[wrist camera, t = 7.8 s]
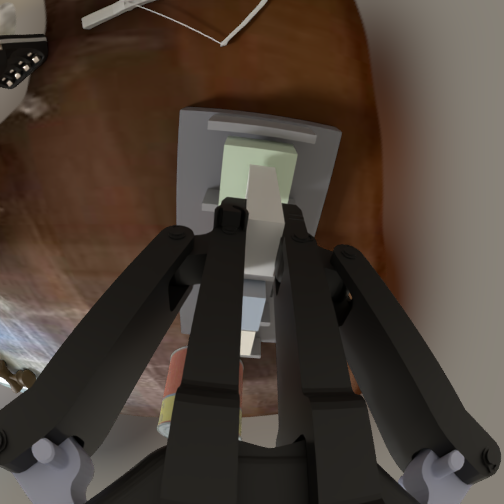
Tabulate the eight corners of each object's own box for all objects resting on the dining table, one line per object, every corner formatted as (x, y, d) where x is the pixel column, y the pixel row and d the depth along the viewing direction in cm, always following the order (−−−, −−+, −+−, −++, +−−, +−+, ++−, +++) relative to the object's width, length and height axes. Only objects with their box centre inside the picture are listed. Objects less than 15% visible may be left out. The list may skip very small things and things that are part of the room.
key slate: (213, 306, 28) (210, 326, 26) (215, 272, 25) (212, 292, 23) (257, 311, 28) (258, 331, 26) (265, 278, 25) (265, 298, 23)
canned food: (165, 371, 43) (153, 436, 33) (177, 336, 37) (161, 416, 27) (230, 387, 45) (226, 451, 36) (255, 356, 39) (254, 433, 29)
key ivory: (212, 334, 32) (210, 351, 30) (213, 309, 29) (211, 327, 27) (250, 338, 32) (250, 355, 30) (255, 313, 30) (255, 331, 28)
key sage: (221, 193, 21) (218, 209, 19) (227, 135, 18) (224, 144, 16) (281, 200, 21) (284, 217, 19) (292, 144, 18) (297, 154, 16)
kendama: (45, 381, 55) (13, 377, 57) (22, 358, 49) (-7, 357, 52) (38, 398, 50) (7, 392, 52) (13, 376, 44) (-14, 372, 47)
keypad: (184, 320, 35) (177, 350, 31) (186, 106, 20) (170, 115, 16) (278, 330, 35) (280, 360, 32) (335, 127, 21) (352, 140, 17)
